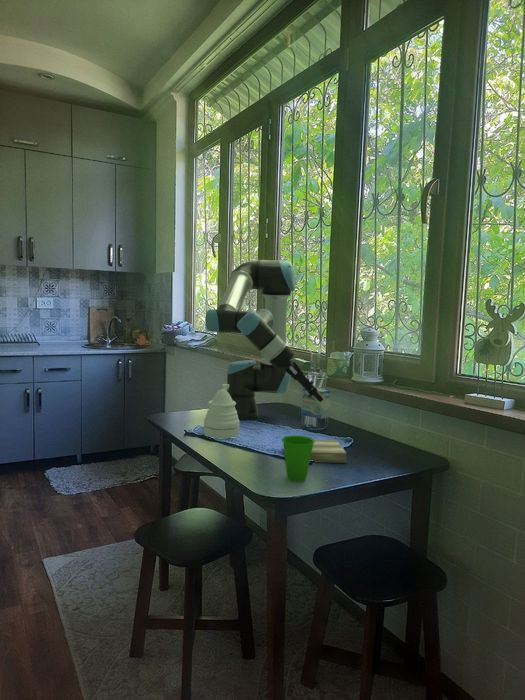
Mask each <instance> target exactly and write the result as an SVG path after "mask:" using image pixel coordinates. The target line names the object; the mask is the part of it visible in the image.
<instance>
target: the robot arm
mask: <svg viewBox="0 0 525 700" xmlns="http://www.w3.org/2000/svg"><path fill="white" fill-rule="evenodd" d="M295 282H296V280H295V272H294V266H293V263H292V262H290V261H289V260H281V259H278V260H275V259H272V260H270V259H269V260H268V259H267V260H266V259H260V260H259V259H251V260H248V261H245V262H243V263H241V264H240V265H238V266H237V267H236V268H235V269H233V270H232V272H230V275H229V277H228V286H227V287H226V289H225V292H224V294H223V295H222V298H221V300H220V302H219V304H218V307H217V308H213V309H210V308H209V309H208V310H207V311H206V313H205V319H204V320H205V321H204V322H205V325H204V326H205V328H206V330H207V331H208V332H211V333H212V332H213V333H226V334H227V333H229V334H242V335H243V336H245V337H246V339H247V340H248V341H249V342H250V343H251V344H252V345H253V346H254V347H255V348H256V349H257V350H258V351H259V352H260V357H263V358H261V359H260V363H259V364H258V363H257V362H256V360H255V359H253V360H251V359H249V360H248V359H246V360H245V359H244V360H237V361H232V362H230V363H228V366H227V373H226V377H227V379H226V381H227V383H226V384H229V388H228V389H227V390H226V391H227V392H228V393H229V394H230V396H231V398H232V400H233V401H235V402H236V405H235V409H236V411H237V415H238V419H240V420H239V421H241V420H242V421H243V420H244V421H245V420H246V421H247V420H252V419H256V418H258V417H259V409H258V405H257V401H256V398H255V393H262V394H263V393H265V394H266V393H267V394H275V395H277V394H286V393H288V392H289V388H290V384H291V383H290V382H291V378H292V379H294V381H298V383H299V384H300V385H301V386H302V387H303V388H305V389H306V390H307V391H308V392H309V394H310V395H309V397H311V396H312V397H313V398H314V399H315V400H316V402H317V403H318V404H319V405H320V406H321V407H322V408H323V409H324V410H325V411H326V410H327V409H328V408H329V409H330V407H331V406H332V404H331V403H330V402H329V401H328V400H327V399H326V398H325V397H324V396H323V395H322V394H321V393H320V392H319V391H318V390H317V389H318V388H317V387H316V386H315V385H314V382H313V380H309V379H307V377H306V376H305V375H304V371H302V370H301V368H300V367H299V365H298V364H297V363H296V362H295V361H291V360H292V359H293V357H294V354H295V353H294V351H293V350H292V349H291V348H290V347H289V346H288V345H286V341H287V336H286V335H287V310H288V309H287V308H288V307H287V306H288V304H287V303H288V299H289V297H291V295H292V292H293V291H295V289H296V286H295V285H296V283H295ZM252 290H261V295H262V297H263V298H264V300H265V301H264V302H265V305H264V306H265V308H260V309H257V310H253V309H251V310H241V309H242V306H243V304H244V301H245V299H246V296H247V294H248V293H249V292H250V291H252ZM312 388H313V389H312ZM316 388H317V389H316ZM311 389H312V390H311ZM310 390H311V391H310Z"/></svg>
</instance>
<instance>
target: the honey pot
mask: <svg viewBox="0 0 525 700" xmlns="http://www.w3.org/2000/svg"><path fill="white" fill-rule="evenodd" d="M221 387H222V388H221V389H219V390H217V392H215V394H214V396H213V398H212V399H211V400H208V401H207V403H208V406H209V407H208V409H207V410H206V414H205V417H204V419H203V435H204V434H205V435H207V436H209V437H214V438H231V437H236V436H238V435H239V436H240V421H241V420H239V419H238V415H237V411H236V409H235V405H236V402H235V401H233V400H232V398H231V396H230V394H229V393H228V392H227V389H228V388H229V384H227V383H222V386H221ZM239 436H238V437H239ZM236 438H237V437H236Z"/></svg>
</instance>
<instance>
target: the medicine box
mask: <svg viewBox="0 0 525 700" xmlns="http://www.w3.org/2000/svg"><path fill="white" fill-rule="evenodd" d="M312 389H313V388H312ZM312 389H311V390H312ZM316 389H317V390H318V391H319V392H320V393H321V394H322V395H323V396H324V397H325V398H326V399H327V400H328V401H329V403H330V400H331V398H330V397H331V390H328V389H321V388H317V387H316ZM311 390H310V391H311ZM301 391H302V392H301V409H300V415H301V416H305V417H311V418H314V419H319V420H323V419H327V418H329V416H330V415H329V414H330V407H329V408H328V409H327V410H326V411H325V410H324V409H323V408H322V407H321V406H320V405H319V404H318V403H317V402H316V400H315V399H314V398H313V397H312V396H311V397H309V395H310V394H309V392H308V391H307V390H306V389H305V388H304V387H303V388H302V390H301Z"/></svg>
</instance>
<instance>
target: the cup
mask: <svg viewBox="0 0 525 700" xmlns="http://www.w3.org/2000/svg"><path fill="white" fill-rule="evenodd" d="M314 440H315V439H314V438H312V437H310V436H305V435H297V434H296V435H295V434H294V435H293V434H292V435H286V436H283V437H282V438H281V441H282V442H283V444H284V449H283V451H284V453H283V454H284V460H285V469H286V477H287V480H289V481H291V482H295V483H299V482H300V483H301V482H305V480H306V479H307V477H308V476H307V475H308V471H309V467H310V463H311V462H310V457H311V452H312V448H313V443H315V441H314Z"/></svg>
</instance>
